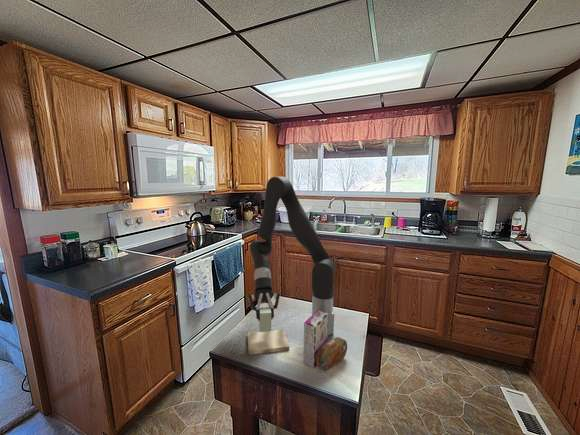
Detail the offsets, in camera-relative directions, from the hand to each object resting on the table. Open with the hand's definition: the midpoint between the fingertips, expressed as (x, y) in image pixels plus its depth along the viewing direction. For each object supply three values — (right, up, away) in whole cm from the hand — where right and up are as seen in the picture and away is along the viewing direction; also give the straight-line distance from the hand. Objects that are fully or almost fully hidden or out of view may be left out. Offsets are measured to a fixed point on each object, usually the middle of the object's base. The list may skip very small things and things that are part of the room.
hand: (265, 319), depth 100 cm
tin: (+25, -13, -8) cm, 30 cm away
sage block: (0, -4, +2) cm, 5 cm away
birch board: (+1, -11, +3) cm, 11 cm away
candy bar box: (+20, -13, -6) cm, 24 cm away
